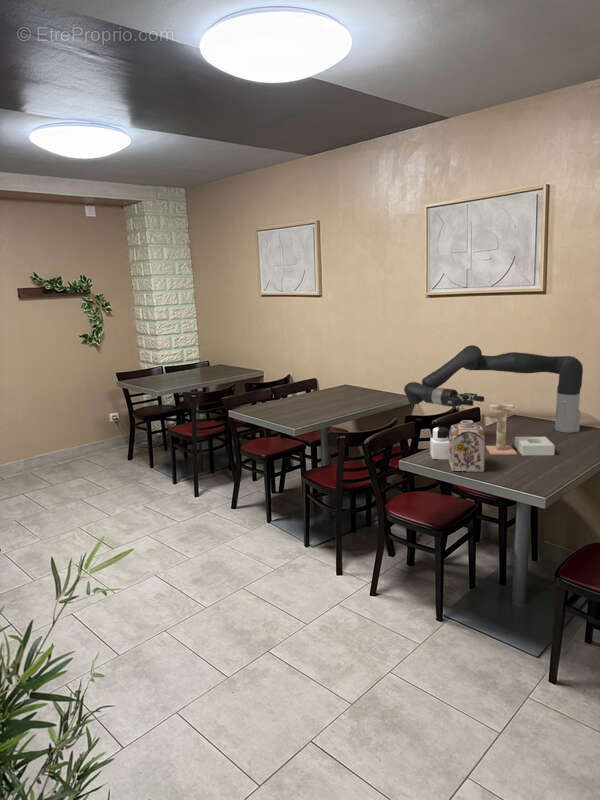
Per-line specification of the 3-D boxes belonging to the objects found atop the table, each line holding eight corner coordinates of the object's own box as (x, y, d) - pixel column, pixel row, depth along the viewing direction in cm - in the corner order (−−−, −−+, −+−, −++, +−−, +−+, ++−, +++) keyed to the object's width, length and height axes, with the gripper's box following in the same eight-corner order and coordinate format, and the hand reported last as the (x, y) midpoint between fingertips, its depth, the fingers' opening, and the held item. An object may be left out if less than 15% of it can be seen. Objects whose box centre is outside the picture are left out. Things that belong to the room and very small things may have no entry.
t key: (511, 448, 227) (512, 404, 223) (512, 450, 225) (514, 406, 220) (488, 448, 229) (489, 404, 225) (489, 450, 226) (491, 406, 222)
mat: (510, 446, 231) (510, 445, 231) (516, 454, 221) (516, 453, 221) (485, 447, 232) (485, 445, 232) (490, 454, 222) (490, 453, 222)
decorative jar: (484, 472, 204) (485, 425, 200) (451, 472, 206) (452, 425, 202) (479, 461, 215) (480, 417, 211) (448, 461, 217) (449, 417, 213)
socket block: (544, 445, 230) (545, 436, 229) (554, 455, 218) (554, 445, 218) (514, 446, 232) (515, 436, 231) (522, 455, 220) (522, 445, 219)
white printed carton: (448, 453, 226) (448, 425, 224) (450, 459, 219) (451, 430, 217) (430, 454, 227) (430, 425, 224) (432, 459, 220) (432, 430, 217)
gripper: (435, 391, 237) (469, 395, 225) (453, 385, 246) (487, 389, 234) (435, 408, 238) (469, 413, 226) (453, 402, 247) (487, 406, 236)
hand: (478, 401), depth 230 cm, fingers open, 8 cm apart
